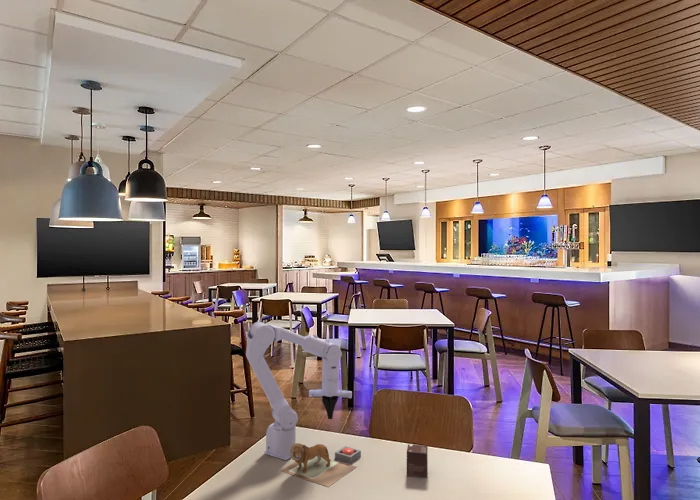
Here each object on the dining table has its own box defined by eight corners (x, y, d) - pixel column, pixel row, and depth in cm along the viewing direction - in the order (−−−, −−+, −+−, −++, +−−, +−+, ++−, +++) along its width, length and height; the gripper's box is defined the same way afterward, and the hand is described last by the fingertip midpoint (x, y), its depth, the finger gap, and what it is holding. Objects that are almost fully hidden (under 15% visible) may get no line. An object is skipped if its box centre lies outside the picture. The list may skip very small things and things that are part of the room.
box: (426, 478, 140) (427, 453, 140) (406, 476, 141) (406, 451, 141) (427, 469, 146) (427, 445, 146) (407, 467, 147) (408, 443, 147)
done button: (340, 455, 153) (340, 451, 153) (346, 451, 156) (346, 447, 156) (349, 458, 151) (349, 453, 151) (355, 454, 154) (355, 449, 154)
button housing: (334, 458, 153) (334, 452, 153) (345, 452, 158) (345, 446, 158) (350, 463, 150) (350, 457, 150) (360, 456, 155) (360, 450, 155)
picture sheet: (280, 470, 145) (280, 470, 145) (310, 453, 157) (310, 453, 157) (328, 487, 135) (328, 486, 135) (356, 467, 147) (356, 466, 147)
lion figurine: (296, 479, 139) (296, 448, 139) (286, 472, 143) (286, 442, 143) (335, 464, 149) (335, 435, 149) (325, 459, 153) (325, 430, 153)
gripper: (307, 380, 160) (307, 421, 160) (350, 382, 159) (350, 423, 159) (311, 375, 167) (310, 414, 167) (352, 376, 166) (352, 415, 166)
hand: (330, 418), depth 164 cm, fingers closed
